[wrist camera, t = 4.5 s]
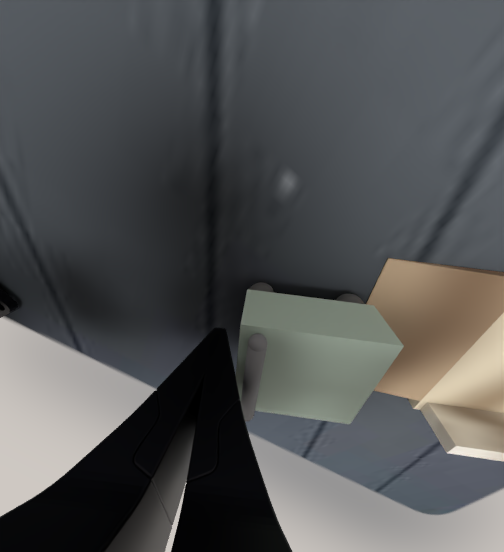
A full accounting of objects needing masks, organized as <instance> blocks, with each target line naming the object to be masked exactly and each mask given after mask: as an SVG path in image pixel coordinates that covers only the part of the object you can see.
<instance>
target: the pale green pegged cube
mask: <svg viewBox="0 0 504 552" xmlns="http://www.w3.org/2000/svg"><path fill="white" fill-rule="evenodd" d="M403 347H404V345H403V344H402V343H401V341H400V340H399V339H398V337H397V336H396V335H395V333H394V332H393V330H392V329H391V328H390V326H389V325H388V324H387V322H386V321H385V320H384V318H383V317H382V316H381V314H380V313H379V312H378V310H377V309H376V308H375V306H374V305H367V304H364V302H363V301H362V300H361V298H359V297H358V296H356V295H354V294H349V293H348V294H343V295H340V296H339V297H338V298H337V299H336V300H328V299H320V298H312V297H304V296H297V295H289V294H281V293H274V290H273V288H272V287H271V286H270V285H268V284H266V283H263V282H259V283H256V284H254V285H252V286H251V287H250V289H247V293H246V299H245V304H244V309H243V314H242V319H241V325H240V336H239V347H238V358H237V369H236V381H237V386H238V391H239V396H240V401H241V405H242V410H243V415H244V419H245V421H250V420H251V419H252V418H253V416H254V412H255V411H261V412H268V413H275V414H282V415H289V416H296V417H303V418H310V419H317V420H323V421H330V422H337V423H344V424H351V422H352V421H353V419H354V418H355V416H356V415H357V413H358V412H359V411H360V409H361V408H362V406H363V405H364V403H365V402H366V400H367V399H368V397H369V396H370V395H371V393H372V392H373V390H374V389H375V387H376V386H377V384H378V383H379V382H380V380H381V379H382V377H383V376H384V374H385V373H386V371H387V370H388V369H389V367H390V366H391V364H392V363H393V361H394V360H395V358H396V357H397V356H398V354H399V353H400V351H401V350H402V348H403Z"/></svg>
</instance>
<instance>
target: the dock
mask: <svg viewBox="0 0 504 552" xmlns="http://www.w3.org/2000/svg"><path fill="white" fill-rule="evenodd" d="M366 304H367V305H374V306H375V308H376V309H377V310H378V312H379V313H380V314H381V316H382V317H383V318H384V320H385V321H386V322H387V324H388V325H389V326H390V328H391V329H392V330H393V332H394V333H395V335H396V336H397V337H398V339H399V340H400V341H401V343H402V344H403V345H404V347H403V348H402V350H401V351H400V353H399V354H398V356H397V357H396V358H395V360H394V361H393V363H392V364H391V366H390V367H389V369H388V370H387V371H386V373H385V374H384V376H383V377H382V379H381V380H380V382H379V383H378V384H377V386H376V387H375V389H374V391H378V392H383V393H387V394H391V395H396V396H400V397H404V398H409V402H410V404H411V406H412V407H413V409H419V410H421V412H422V413H423V415H424V417H425V418H426V420H427V422H428V423H429V425H430V427H431V428H432V430H433V431H434V433H435V435H436V436H437V438H438V440H439V441H440V443H441V445H442V446H443V448H444V449H445V451H446V453H450V454H457V455H464V456H470V457H477V458H484V459H490V460H497V461H504V272H497V271H489V270H481V269H473V268H465V267H457V266H448V265H440V264H432V263H424V262H416V261H408V260H400V259H391V258H388V259H387V261H386V263H385V265H384V267H383V269H382V271H381V273H380V276H379V278H378V280H377V282H376V284H375V286H374V288H373V290H372V292H371V294H370V296H369V298H368V301H367V303H366Z"/></svg>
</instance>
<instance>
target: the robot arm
mask: <svg viewBox="0 0 504 552" xmlns="http://www.w3.org/2000/svg"><path fill="white" fill-rule="evenodd" d="M16 309H18V304H17V302H16V301H15V300H14V299H13V298H11V297H10V296H9V295H8V294H7V293H5V292H4V291H3V290H2V289H1V288H0V318H1V317H3V316H5V315H7V314H9V313H11V312H13V311H14V310H16ZM186 480H187V481H186ZM186 482H187V484H186V487H185V493H184V498H183V504H182V508H181V513H180V518H179V522H178V526H177V530H176V534H175V538H174V542H173V546H172V550H171V552H292V550H291V548H290V546H289V544H288V542H287V539H286V537H285V535H284V533H283V531H282V529H281V527H280V524H279V522H278V520H277V517H276V514H275V512H274V509H273V507H272V504H271V501H270V498H269V496H268V493H267V490H266V487H265V484H264V481H263V478H262V475H261V472H260V469H259V466H258V463H257V460H256V457H255V453H254V450H253V447H252V444H251V441H250V438H249V434H248V431H247V427H246V423H245V419H244V415H243V410H242V405H241V401H240V396H239V391H238V386H237V381H236V376H235V371H234V366H233V361H232V356H231V351H230V346H229V341H228V336H227V332H226V329H225V328H214V329H213V330H212V331H211V332H210V333H209V334H208V335H207V336H206V337H205V338H204V339H203V341H202V342H201V343H200V344H199V345H198V346H197V347H196V348H195V349H194V350H193V351H192V352H191V353H190V354H189V355H188V356H187V357H186V358H185V360H184V361H183V362H182V363H181V364H180V365H179V366H178V367H177V368H176V369H175V370H174V371H173V372H172V373H171V374H170V375H169V376H168V377H167V379H166V380H165V381H164V382H163V383H162V384H161V385H160V386H159V387H158V388H157V391H154V392H153V393H152V394H151V395H150V396H149V397H148V398H147V400H146V401H145V402H144V403H143V404H142V405H141V406H140V407H139V408H138V409H137V410H136V411H135V412H134V413H133V414H132V415H131V416H129V417H128V419H126V420H125V421H124V422H123V423H122V424H121V425H120V426H119V427H118V428H116V430H114V431H113V432H112V433H111V434H110V435H109V436H107V437H106V438H105V439H104V440H103V441H102V442H101V443H100V444H99V445H97V446H96V447H95V448H94V449H93V450H92V451H91V452H90V453H88V454H87V455H86V456H85V457H84V458H83V459H82V460H81V461H79V462H78V463H77V464H76V465H75V466H74V467H73V468H72V469H71V470H69V471H68V472H67V473H66V474H65V475H64V476H62V477H61V478H60V479H59V480H58V481H56V482H55V483H54V484H52V485H51V486H49V487H48V488H47V489H45V490H44V491H42V492H41V493H39V494H38V495H36V496H35V497H33V498H32V499H30V500H28V501H27V502H25V503H24V504H22V505H20V506H18V507H16V508H15V509H13V510H11V511H9V512H8V513H6V514H4V515H2V516H1V517H0V552H165V548H166V545H167V541H168V539H169V535H170V532H171V529H172V526H171V525H173V522H174V518H175V515H176V512H177V509H178V506H179V502H180V499H181V496H182V492H183V489H184V486H185V483H186Z"/></svg>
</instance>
